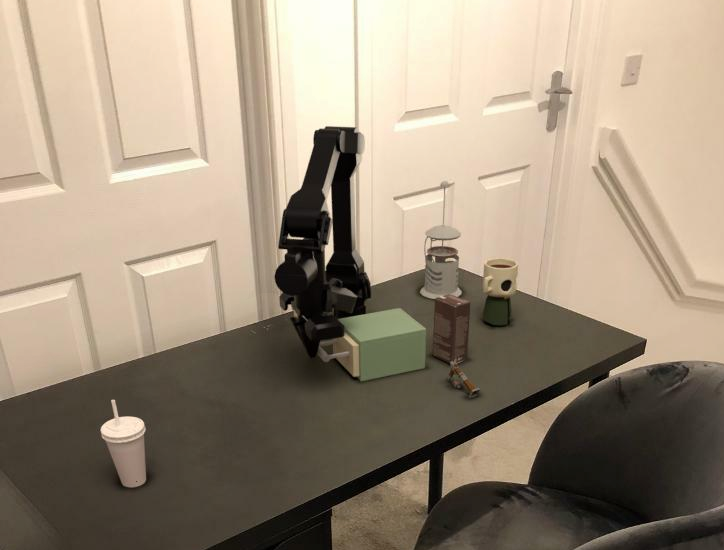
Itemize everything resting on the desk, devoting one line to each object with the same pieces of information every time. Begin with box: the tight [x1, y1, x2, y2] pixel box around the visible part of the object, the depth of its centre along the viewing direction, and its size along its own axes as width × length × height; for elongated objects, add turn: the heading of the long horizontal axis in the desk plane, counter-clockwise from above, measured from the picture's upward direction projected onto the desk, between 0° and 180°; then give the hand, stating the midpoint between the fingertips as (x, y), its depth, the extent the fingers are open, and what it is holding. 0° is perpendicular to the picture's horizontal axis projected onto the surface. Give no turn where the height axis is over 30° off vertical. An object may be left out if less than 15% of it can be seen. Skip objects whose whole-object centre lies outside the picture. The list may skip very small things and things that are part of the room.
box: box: [432, 294, 472, 364], centre depth 160 cm, size 6×4×12 cm
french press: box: [419, 180, 463, 300], centre depth 186 cm, size 10×12×25 cm
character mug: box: [482, 257, 519, 326], centre depth 174 cm, size 11×7×13 cm, turn 138°
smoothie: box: [100, 399, 147, 488], centre depth 123 cm, size 6×6×14 cm
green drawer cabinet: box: [338, 307, 427, 382], centre depth 159 cm, size 14×12×8 cm
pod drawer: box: [316, 331, 359, 378], centre depth 158 cm, size 18×10×6 cm, turn 115°
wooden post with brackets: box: [446, 361, 481, 399], centre depth 151 cm, size 2×8×4 cm, turn 35°
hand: (312, 357), depth 154 cm, fingers closed, pressing on pod drawer
